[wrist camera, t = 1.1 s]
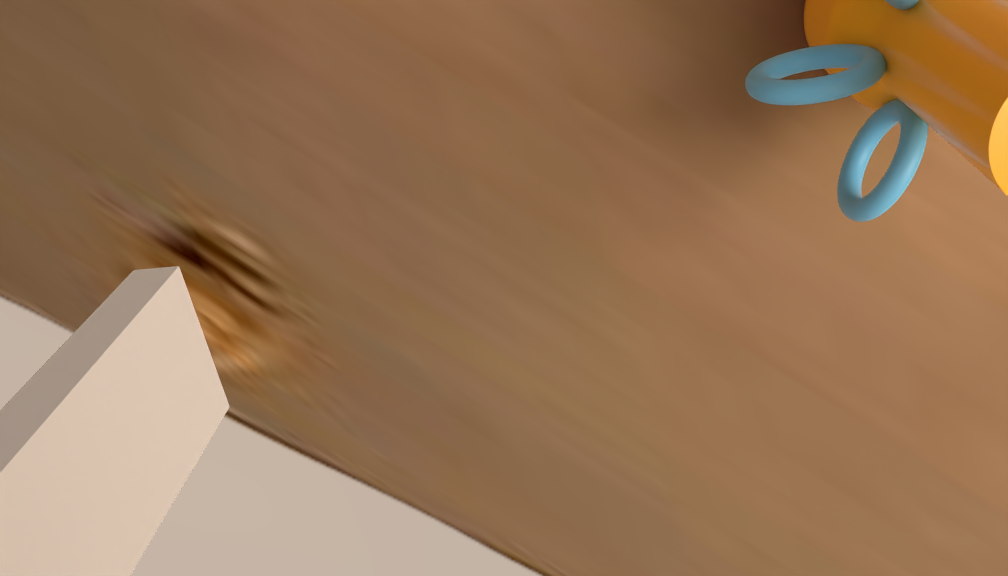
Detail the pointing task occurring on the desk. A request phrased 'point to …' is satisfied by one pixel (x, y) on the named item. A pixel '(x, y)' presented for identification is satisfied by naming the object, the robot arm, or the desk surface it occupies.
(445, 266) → the desk surface
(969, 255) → the desk surface
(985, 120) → the cylinder
